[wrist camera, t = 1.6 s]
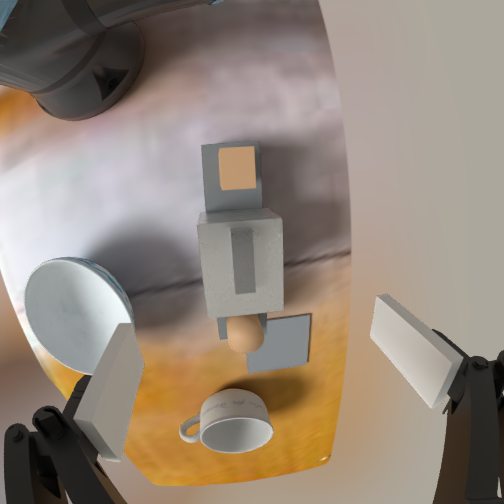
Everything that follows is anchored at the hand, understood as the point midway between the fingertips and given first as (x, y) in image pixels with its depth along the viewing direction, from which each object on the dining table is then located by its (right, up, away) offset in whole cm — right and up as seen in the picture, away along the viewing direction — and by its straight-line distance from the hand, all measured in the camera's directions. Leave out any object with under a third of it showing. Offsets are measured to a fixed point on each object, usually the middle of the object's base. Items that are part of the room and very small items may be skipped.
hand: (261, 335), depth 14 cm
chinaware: (-21, -1, +19) cm, 28 cm away
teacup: (-5, -20, +27) cm, 34 cm away
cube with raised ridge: (-2, +4, +14) cm, 15 cm away
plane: (-3, +6, +19) cm, 20 cm away
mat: (+3, -9, +24) cm, 26 cm away
